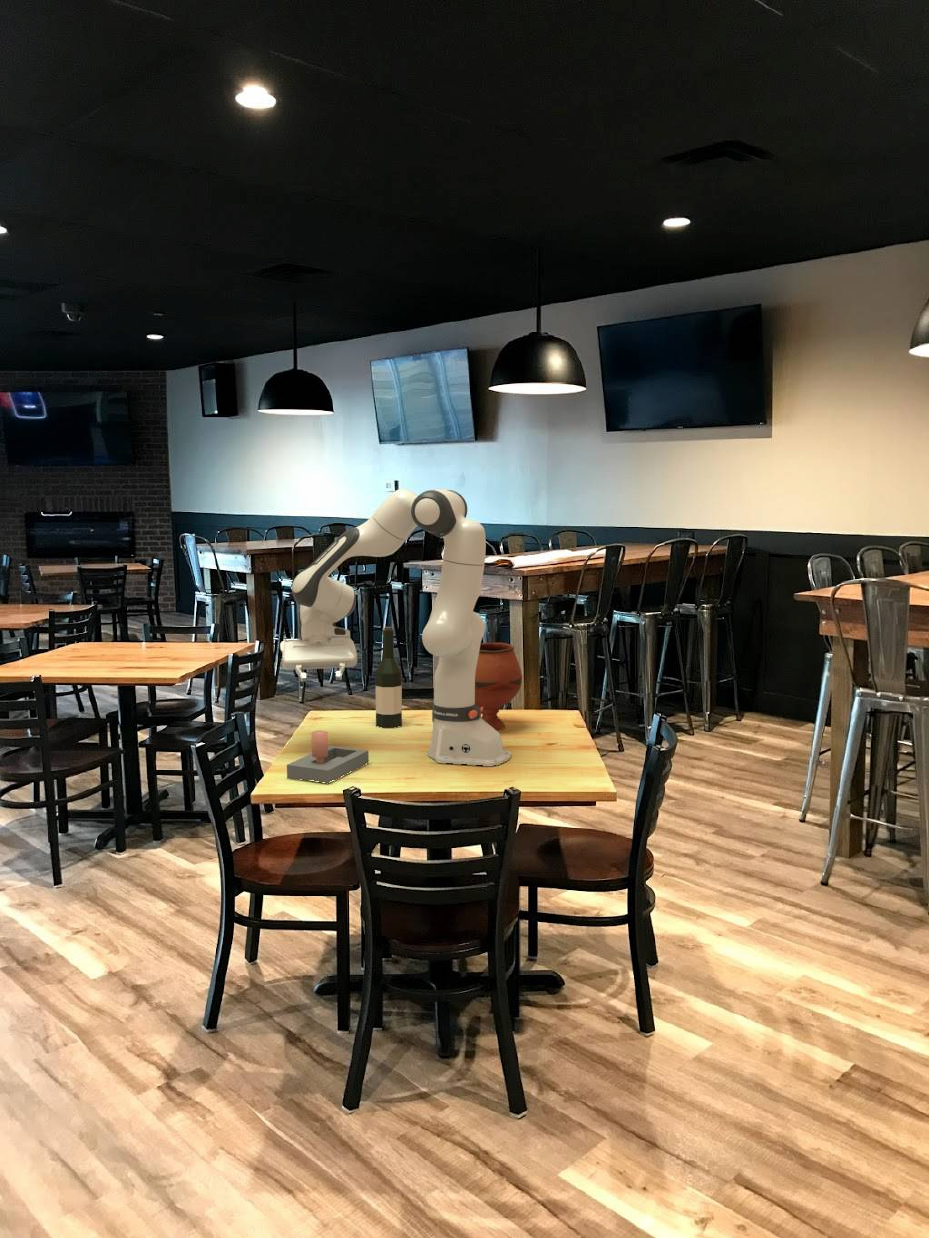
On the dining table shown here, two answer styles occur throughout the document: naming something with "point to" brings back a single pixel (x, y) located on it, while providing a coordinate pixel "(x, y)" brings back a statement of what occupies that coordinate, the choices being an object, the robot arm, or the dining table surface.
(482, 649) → the goblet
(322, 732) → the peg
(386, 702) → the wine bottle
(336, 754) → the keyhole plate
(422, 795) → the dining table surface
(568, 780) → the dining table surface
